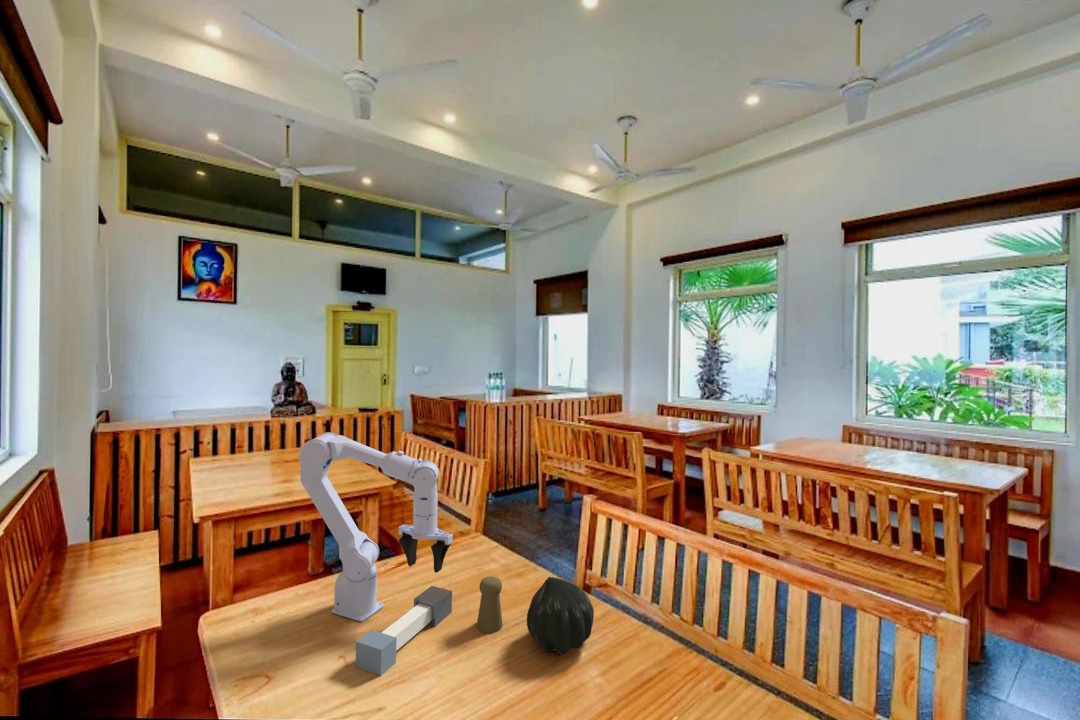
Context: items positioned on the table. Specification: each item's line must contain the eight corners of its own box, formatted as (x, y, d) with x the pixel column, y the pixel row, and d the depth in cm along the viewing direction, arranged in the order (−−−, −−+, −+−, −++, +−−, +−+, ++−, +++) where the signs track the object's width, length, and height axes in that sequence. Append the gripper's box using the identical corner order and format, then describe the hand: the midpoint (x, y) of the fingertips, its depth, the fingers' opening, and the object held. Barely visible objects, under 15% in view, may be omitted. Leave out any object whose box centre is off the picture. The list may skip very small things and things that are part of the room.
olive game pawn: (498, 634, 112) (499, 586, 112) (472, 630, 113) (474, 583, 113) (505, 620, 118) (507, 574, 118) (481, 616, 119) (482, 571, 119)
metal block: (413, 620, 117) (414, 598, 116) (431, 606, 123) (431, 585, 123) (434, 626, 114) (435, 604, 114) (451, 612, 121) (452, 591, 121)
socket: (355, 666, 100) (355, 641, 99) (371, 654, 104) (371, 629, 104) (380, 676, 97) (381, 650, 97) (395, 662, 101) (396, 637, 101)
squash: (616, 628, 106) (585, 560, 114) (563, 656, 97) (532, 580, 105) (583, 646, 115) (556, 581, 123) (531, 672, 106) (505, 601, 114)
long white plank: (364, 661, 100) (365, 644, 100) (421, 615, 117) (422, 600, 117) (378, 666, 99) (378, 649, 98) (434, 618, 116) (434, 604, 116)
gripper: (390, 513, 120) (390, 568, 120) (441, 522, 114) (440, 580, 115) (409, 504, 126) (408, 557, 127) (457, 513, 121) (457, 568, 121)
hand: (424, 567), depth 121 cm, fingers open, 7 cm apart
